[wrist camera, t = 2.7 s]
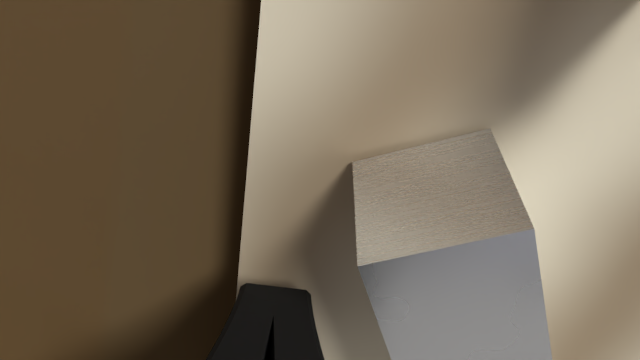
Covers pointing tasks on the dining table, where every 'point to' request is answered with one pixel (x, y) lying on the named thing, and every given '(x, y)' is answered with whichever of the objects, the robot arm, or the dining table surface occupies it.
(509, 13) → the board
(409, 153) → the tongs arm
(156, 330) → the dining table surface
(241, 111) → the dining table surface
